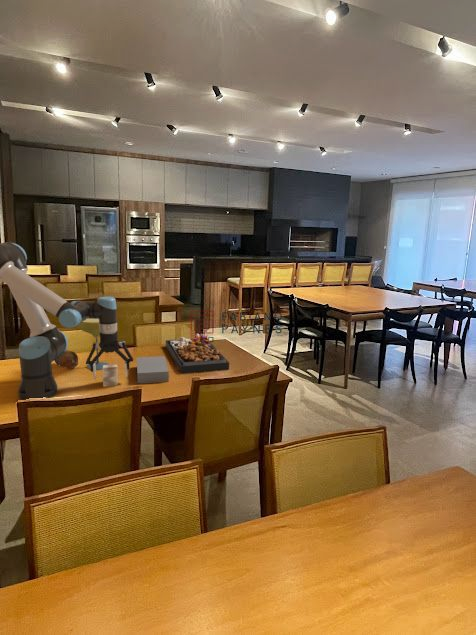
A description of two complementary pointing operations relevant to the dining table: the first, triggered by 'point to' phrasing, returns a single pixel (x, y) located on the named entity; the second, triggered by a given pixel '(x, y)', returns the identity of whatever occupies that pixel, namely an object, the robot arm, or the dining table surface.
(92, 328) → the cocktail glass
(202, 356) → the food platter
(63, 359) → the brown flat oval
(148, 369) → the slate block
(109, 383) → the cream block
